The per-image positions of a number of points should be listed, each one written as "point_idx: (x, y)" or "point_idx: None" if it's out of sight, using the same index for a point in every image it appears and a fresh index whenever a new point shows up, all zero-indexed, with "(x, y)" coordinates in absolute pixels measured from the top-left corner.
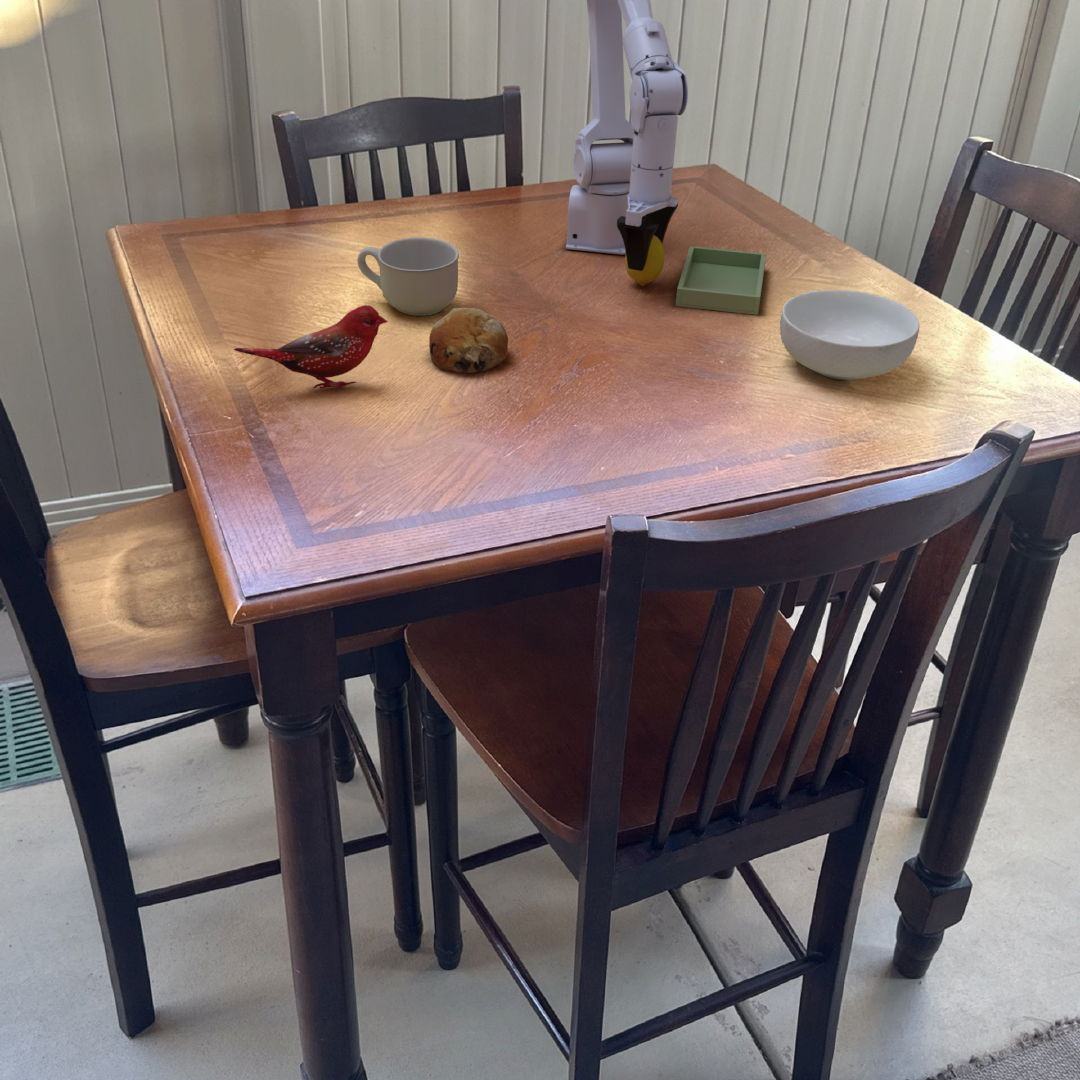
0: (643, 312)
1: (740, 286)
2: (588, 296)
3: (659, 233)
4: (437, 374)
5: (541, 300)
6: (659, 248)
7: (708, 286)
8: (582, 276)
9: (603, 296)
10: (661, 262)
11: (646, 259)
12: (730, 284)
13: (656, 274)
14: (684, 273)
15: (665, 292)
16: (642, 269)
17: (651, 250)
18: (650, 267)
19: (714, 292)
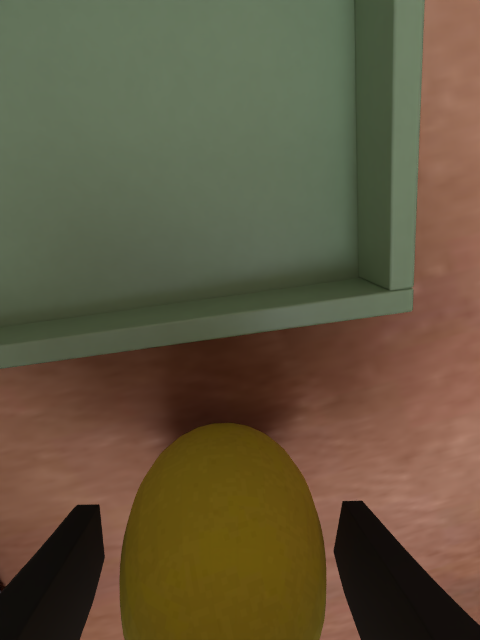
0: (453, 377)
1: (51, 31)
2: None
3: (40, 630)
4: None
5: None
6: (263, 546)
7: (136, 204)
8: None
9: None
10: (250, 460)
11: (372, 541)
12: (55, 97)
13: (260, 434)
14: (207, 327)
15: (250, 358)
16: (365, 505)
17: (311, 570)
18: (302, 482)
19: (418, 105)
